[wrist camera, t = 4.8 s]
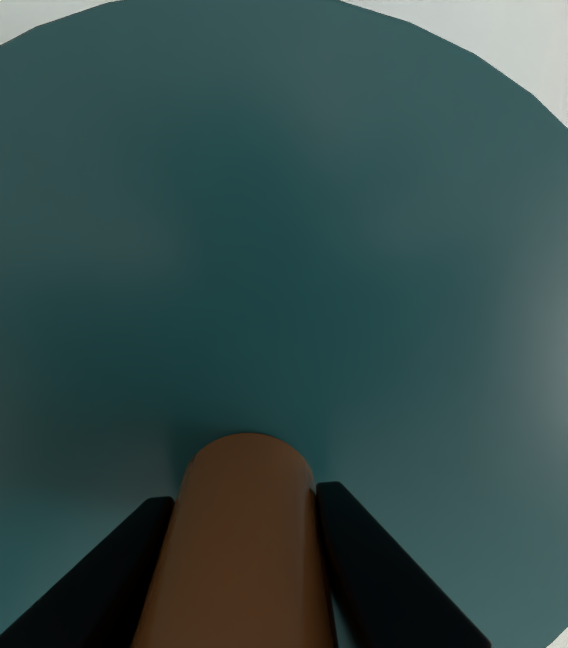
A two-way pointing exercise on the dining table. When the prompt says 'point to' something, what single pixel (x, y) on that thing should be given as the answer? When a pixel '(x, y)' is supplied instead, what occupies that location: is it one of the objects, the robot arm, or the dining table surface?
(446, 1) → the dining table surface
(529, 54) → the dining table surface
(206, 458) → the lid
